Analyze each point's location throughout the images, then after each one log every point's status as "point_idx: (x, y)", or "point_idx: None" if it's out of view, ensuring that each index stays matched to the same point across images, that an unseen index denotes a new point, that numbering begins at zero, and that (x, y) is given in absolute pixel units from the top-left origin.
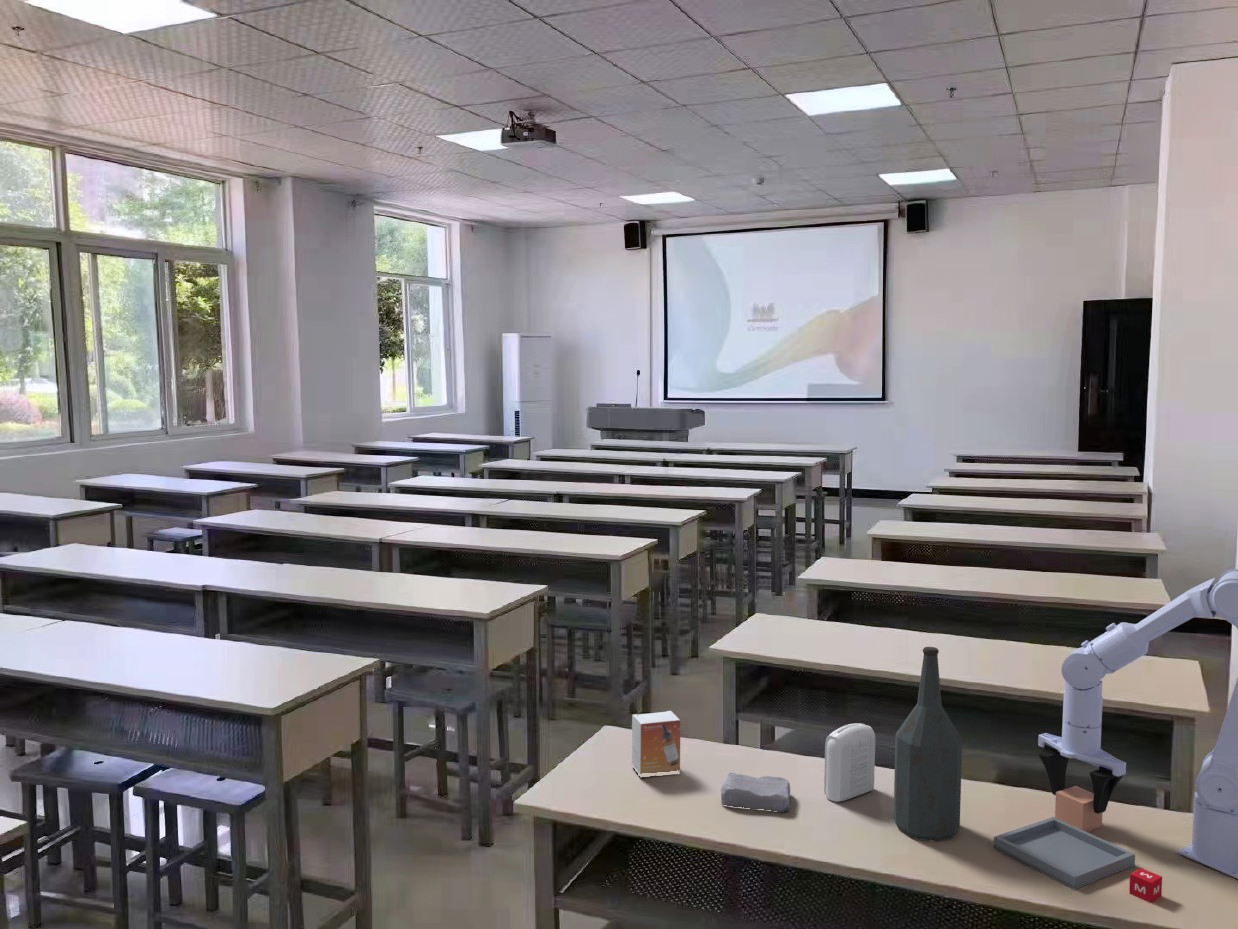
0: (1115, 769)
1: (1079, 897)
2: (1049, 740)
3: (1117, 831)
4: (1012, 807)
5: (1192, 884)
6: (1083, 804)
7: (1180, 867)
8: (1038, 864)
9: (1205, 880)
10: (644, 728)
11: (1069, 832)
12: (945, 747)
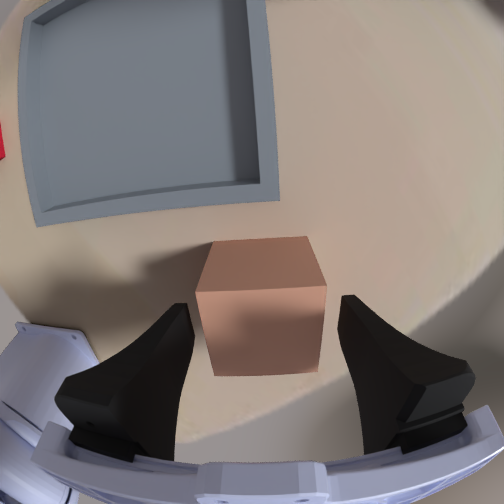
0: (44, 445)
1: None
2: (457, 472)
3: None
4: (420, 200)
5: (6, 254)
6: (196, 292)
7: (46, 290)
8: None
9: (16, 284)
10: None
11: (200, 184)
12: None
